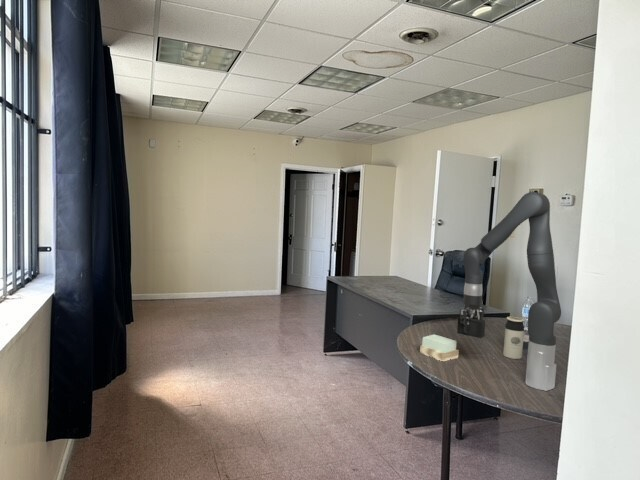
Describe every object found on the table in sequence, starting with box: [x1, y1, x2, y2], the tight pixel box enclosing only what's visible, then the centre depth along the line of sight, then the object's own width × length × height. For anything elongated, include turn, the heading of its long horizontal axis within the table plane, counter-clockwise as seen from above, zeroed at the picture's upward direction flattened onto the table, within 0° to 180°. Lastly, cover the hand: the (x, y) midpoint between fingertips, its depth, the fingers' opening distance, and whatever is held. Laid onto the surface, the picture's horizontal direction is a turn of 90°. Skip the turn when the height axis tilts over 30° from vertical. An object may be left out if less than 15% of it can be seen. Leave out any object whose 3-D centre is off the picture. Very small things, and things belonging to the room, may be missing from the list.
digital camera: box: [457, 316, 486, 339], centre depth 182 cm, size 10×5×7 cm, turn 49°
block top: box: [421, 334, 457, 353], centre depth 193 cm, size 12×9×4 cm
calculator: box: [523, 334, 529, 350], centre depth 217 cm, size 11×4×15 cm
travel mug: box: [502, 316, 525, 360], centre depth 195 cm, size 8×8×18 cm
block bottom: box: [419, 344, 460, 362], centre depth 193 cm, size 13×11×4 cm
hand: (470, 332), depth 182 cm, fingers closed on digital camera, 5 cm apart
